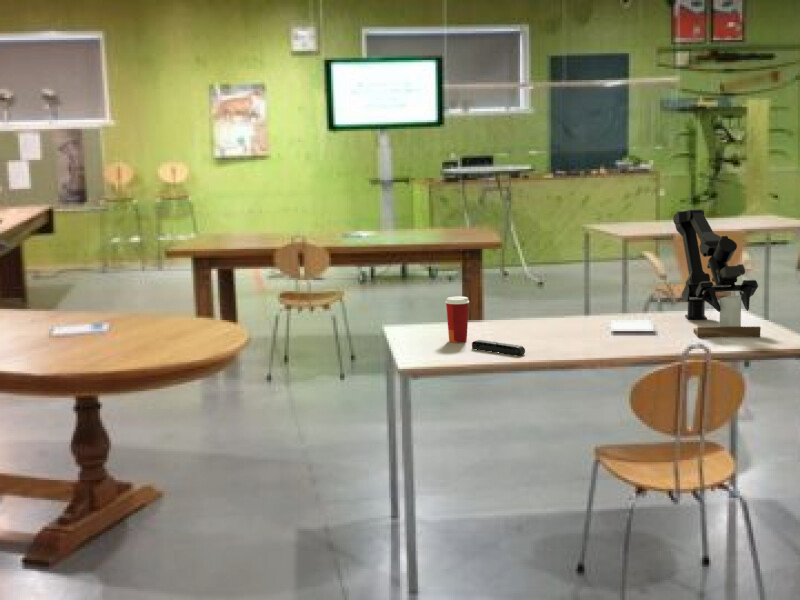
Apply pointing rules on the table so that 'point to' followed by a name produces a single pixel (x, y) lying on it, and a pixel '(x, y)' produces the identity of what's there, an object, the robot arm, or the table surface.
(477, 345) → the black long bar
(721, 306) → the skincare box
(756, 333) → the brown angular block
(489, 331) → the table surface
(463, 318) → the paper cup
